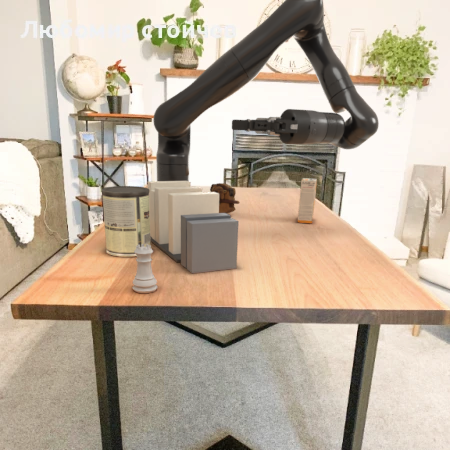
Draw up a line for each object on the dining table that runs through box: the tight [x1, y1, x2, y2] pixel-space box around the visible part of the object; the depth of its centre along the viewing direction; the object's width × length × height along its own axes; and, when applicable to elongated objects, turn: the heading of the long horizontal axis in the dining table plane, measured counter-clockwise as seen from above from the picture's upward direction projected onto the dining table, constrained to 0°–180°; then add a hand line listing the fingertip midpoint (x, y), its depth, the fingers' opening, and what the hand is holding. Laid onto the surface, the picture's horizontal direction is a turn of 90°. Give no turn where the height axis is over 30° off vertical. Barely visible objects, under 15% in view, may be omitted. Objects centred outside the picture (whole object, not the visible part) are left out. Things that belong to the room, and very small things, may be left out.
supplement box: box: [297, 177, 318, 224], centre depth 141 cm, size 8×5×13 cm, turn 168°
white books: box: [147, 180, 203, 263], centre depth 105 cm, size 25×12×14 cm, turn 25°
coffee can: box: [101, 185, 152, 258], centre depth 100 cm, size 10×10×14 cm
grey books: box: [180, 213, 239, 274], centre depth 91 cm, size 6×10×10 cm, turn 115°
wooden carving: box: [209, 182, 240, 214], centre depth 148 cm, size 16×5×10 cm, turn 49°
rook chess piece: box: [131, 244, 158, 294], centre depth 77 cm, size 4×4×8 cm
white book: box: [168, 191, 219, 254], centre depth 100 cm, size 3×11×13 cm, turn 116°
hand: (241, 124), depth 97 cm, fingers open, 8 cm apart
